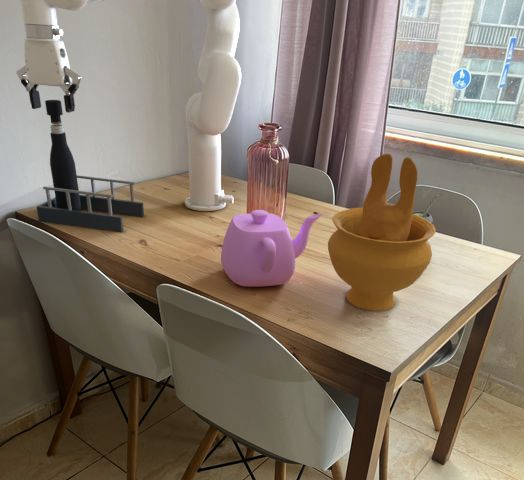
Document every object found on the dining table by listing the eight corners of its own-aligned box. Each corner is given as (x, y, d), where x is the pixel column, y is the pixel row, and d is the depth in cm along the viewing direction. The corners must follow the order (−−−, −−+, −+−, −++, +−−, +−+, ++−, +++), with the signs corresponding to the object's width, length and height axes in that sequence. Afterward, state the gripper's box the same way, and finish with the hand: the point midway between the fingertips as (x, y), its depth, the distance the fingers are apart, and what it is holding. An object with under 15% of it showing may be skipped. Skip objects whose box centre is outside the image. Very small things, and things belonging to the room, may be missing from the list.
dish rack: (144, 216, 158) (141, 182, 153) (121, 232, 146) (118, 196, 141) (66, 205, 162) (61, 173, 157) (38, 220, 151) (32, 185, 146)
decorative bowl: (304, 302, 116) (318, 156, 100) (348, 270, 131) (366, 139, 115) (398, 334, 106) (429, 177, 90) (434, 295, 121) (466, 155, 105)
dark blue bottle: (78, 219, 153) (61, 103, 137) (55, 218, 153) (35, 102, 137) (84, 212, 158) (69, 99, 142) (62, 211, 158) (44, 98, 142)
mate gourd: (403, 236, 152) (414, 182, 144) (432, 241, 150) (444, 186, 142) (400, 246, 146) (410, 189, 138) (430, 250, 144) (442, 194, 136)
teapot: (231, 302, 114) (232, 233, 106) (215, 262, 132) (215, 200, 124) (334, 295, 119) (342, 229, 111) (306, 257, 137) (311, 197, 128)
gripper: (83, 35, 133) (91, 111, 142) (20, 30, 136) (32, 105, 145) (66, 36, 127) (76, 115, 136) (0, 31, 130) (14, 109, 139)
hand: (53, 109), depth 141 cm, fingers open, 9 cm apart
